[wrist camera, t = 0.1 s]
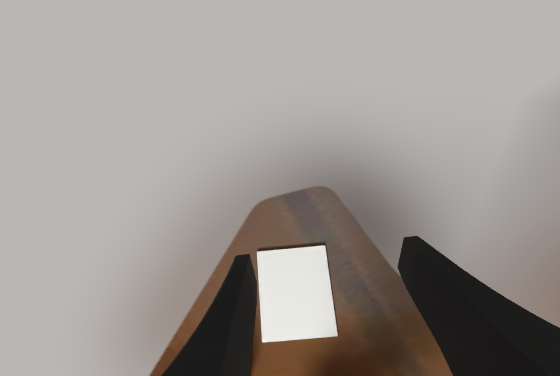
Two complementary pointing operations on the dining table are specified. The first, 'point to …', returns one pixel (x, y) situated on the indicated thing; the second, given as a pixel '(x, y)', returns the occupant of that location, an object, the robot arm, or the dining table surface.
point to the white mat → (295, 294)
